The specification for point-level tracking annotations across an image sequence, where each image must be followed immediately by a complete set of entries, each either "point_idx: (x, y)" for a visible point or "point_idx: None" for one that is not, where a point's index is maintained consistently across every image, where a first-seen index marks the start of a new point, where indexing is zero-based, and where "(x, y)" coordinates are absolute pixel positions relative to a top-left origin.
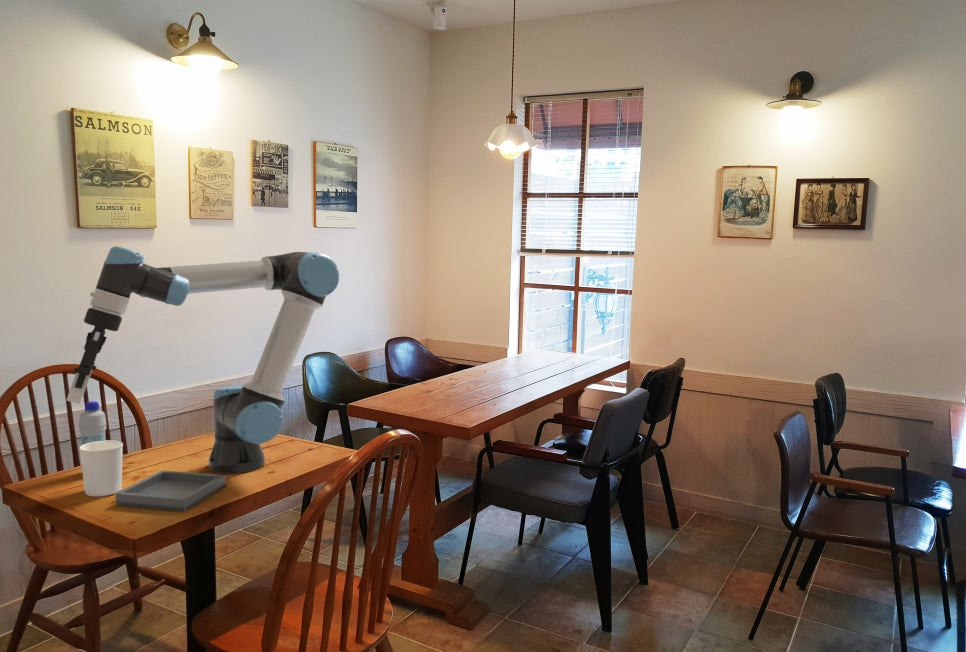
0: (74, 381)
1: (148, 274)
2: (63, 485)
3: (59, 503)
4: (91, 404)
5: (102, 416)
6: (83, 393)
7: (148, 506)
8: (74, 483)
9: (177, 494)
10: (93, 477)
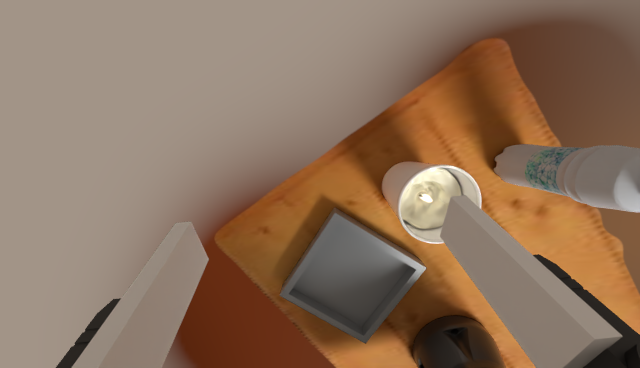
0: (111, 321)
1: None
2: (460, 123)
3: (371, 132)
4: None
5: (615, 207)
6: (447, 243)
7: (308, 247)
8: (463, 139)
9: (336, 280)
10: (389, 181)
